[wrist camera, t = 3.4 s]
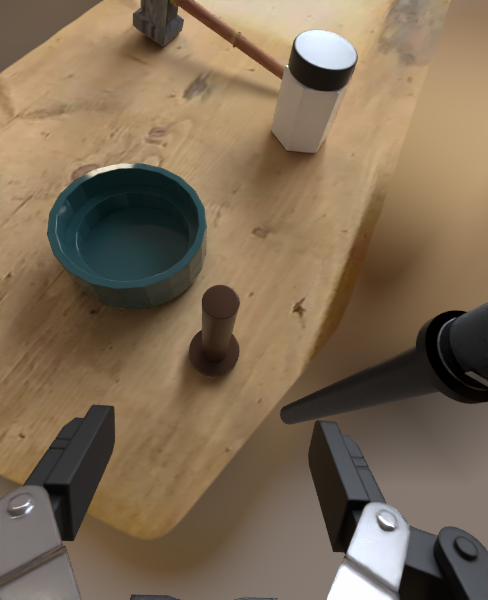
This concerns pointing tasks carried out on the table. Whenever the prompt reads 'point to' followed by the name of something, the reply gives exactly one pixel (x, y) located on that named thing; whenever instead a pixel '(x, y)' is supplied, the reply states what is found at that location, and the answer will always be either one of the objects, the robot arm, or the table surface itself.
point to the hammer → (167, 24)
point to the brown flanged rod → (216, 333)
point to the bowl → (129, 234)
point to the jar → (312, 89)
